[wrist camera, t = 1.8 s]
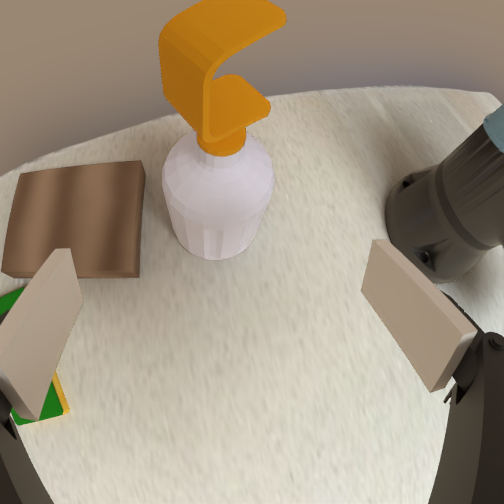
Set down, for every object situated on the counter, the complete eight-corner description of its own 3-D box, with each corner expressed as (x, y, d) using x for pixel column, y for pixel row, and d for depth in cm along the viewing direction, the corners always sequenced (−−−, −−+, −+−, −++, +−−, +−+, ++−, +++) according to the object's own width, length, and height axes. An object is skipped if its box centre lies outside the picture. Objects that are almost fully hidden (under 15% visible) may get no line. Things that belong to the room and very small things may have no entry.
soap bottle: (274, 229, 34) (375, 35, 11) (205, 278, 32) (200, 91, 8) (224, 170, 36) (253, -36, 12) (157, 212, 33) (101, 3, 10)
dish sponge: (35, 290, 29) (24, 285, 27) (72, 411, 26) (63, 414, 23) (-7, 309, 27) (-19, 305, 25) (26, 422, 24) (15, 426, 22)
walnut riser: (145, 174, 34) (141, 160, 31) (139, 277, 31) (132, 270, 28) (30, 185, 32) (20, 173, 29) (14, 278, 28) (0, 271, 25)
